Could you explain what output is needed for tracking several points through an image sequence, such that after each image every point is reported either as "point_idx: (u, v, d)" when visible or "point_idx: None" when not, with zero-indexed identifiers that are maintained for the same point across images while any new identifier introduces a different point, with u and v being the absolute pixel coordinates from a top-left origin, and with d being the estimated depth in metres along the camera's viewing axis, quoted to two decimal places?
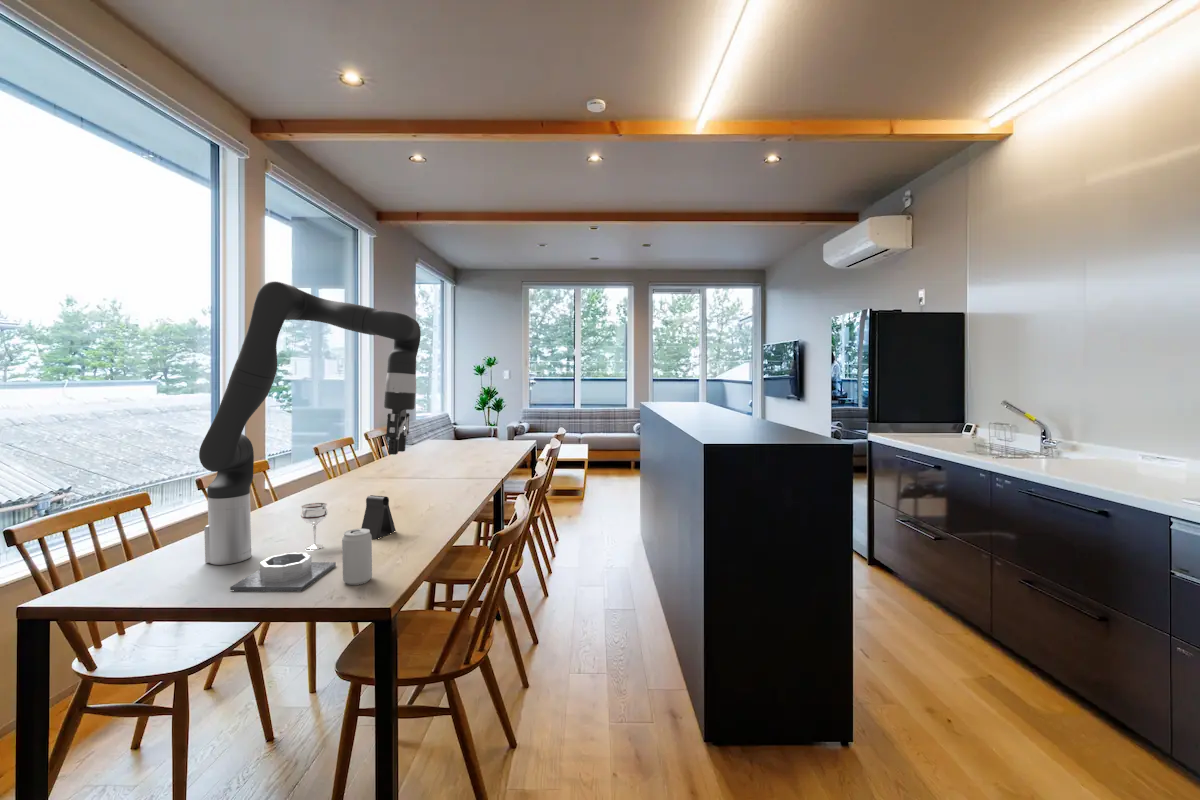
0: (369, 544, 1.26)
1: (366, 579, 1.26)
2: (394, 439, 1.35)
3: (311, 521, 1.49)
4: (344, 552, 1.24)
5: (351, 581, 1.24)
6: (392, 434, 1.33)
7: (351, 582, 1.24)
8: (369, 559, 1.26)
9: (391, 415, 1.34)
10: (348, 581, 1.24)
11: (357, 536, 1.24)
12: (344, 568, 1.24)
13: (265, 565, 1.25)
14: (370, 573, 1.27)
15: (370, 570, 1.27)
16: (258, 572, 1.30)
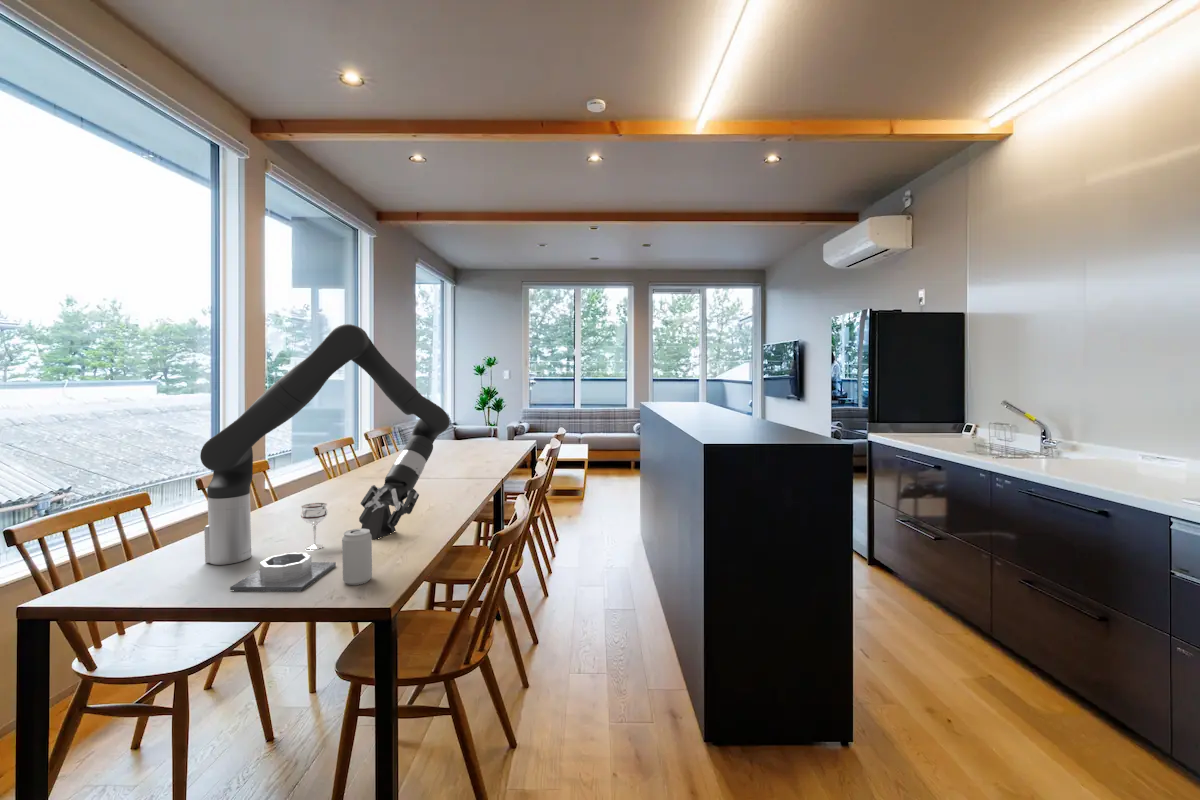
0: (369, 544, 1.26)
1: (366, 579, 1.26)
2: (402, 514, 1.33)
3: (311, 521, 1.49)
4: (344, 552, 1.24)
5: (351, 581, 1.24)
6: (409, 509, 1.34)
7: (351, 582, 1.24)
8: (369, 559, 1.26)
9: (416, 492, 1.36)
10: (348, 581, 1.24)
11: (357, 536, 1.24)
12: (344, 568, 1.24)
13: (265, 565, 1.25)
14: (370, 573, 1.27)
15: (370, 570, 1.27)
16: (258, 572, 1.30)
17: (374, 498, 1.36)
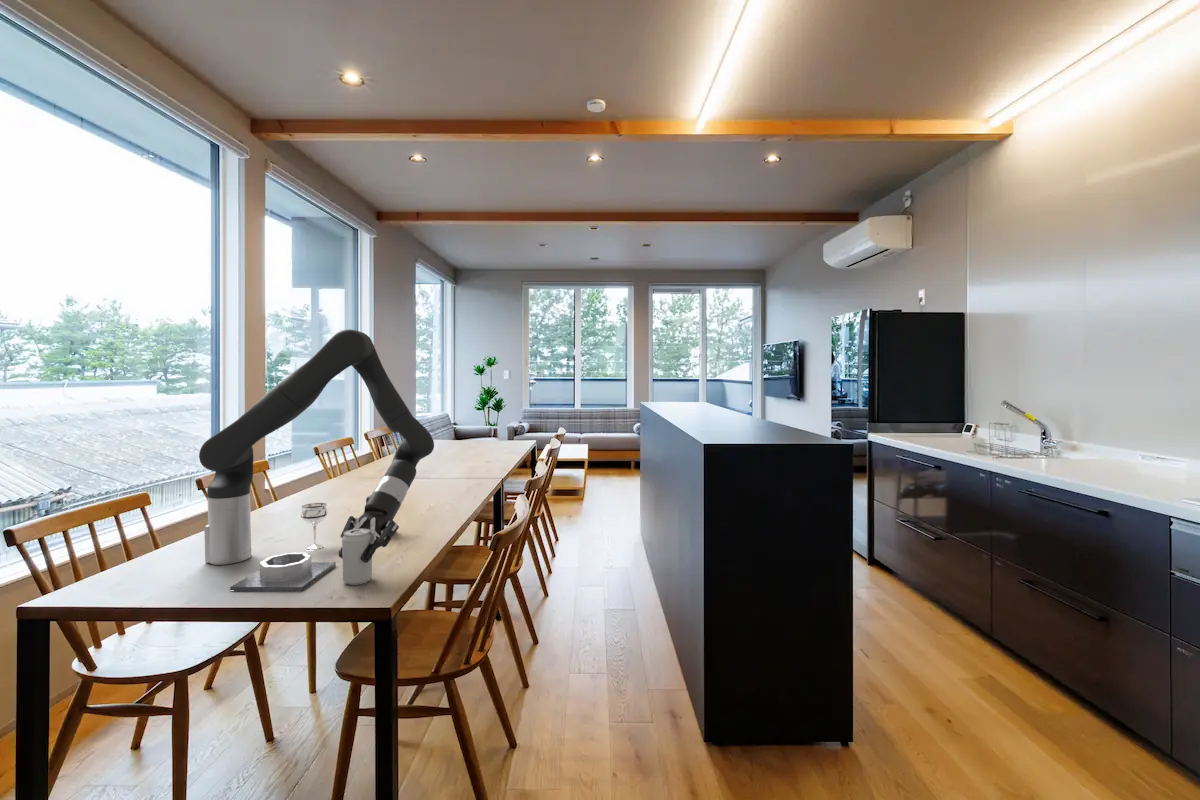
0: None
1: (366, 579, 1.26)
2: (376, 547, 1.26)
3: (311, 521, 1.49)
4: (344, 552, 1.24)
5: (351, 581, 1.24)
6: (384, 542, 1.27)
7: (351, 582, 1.24)
8: None
9: (395, 524, 1.29)
10: (348, 581, 1.24)
11: (357, 536, 1.24)
12: (344, 568, 1.24)
13: (265, 565, 1.25)
14: (370, 573, 1.27)
15: (370, 570, 1.27)
16: (258, 572, 1.30)
17: None
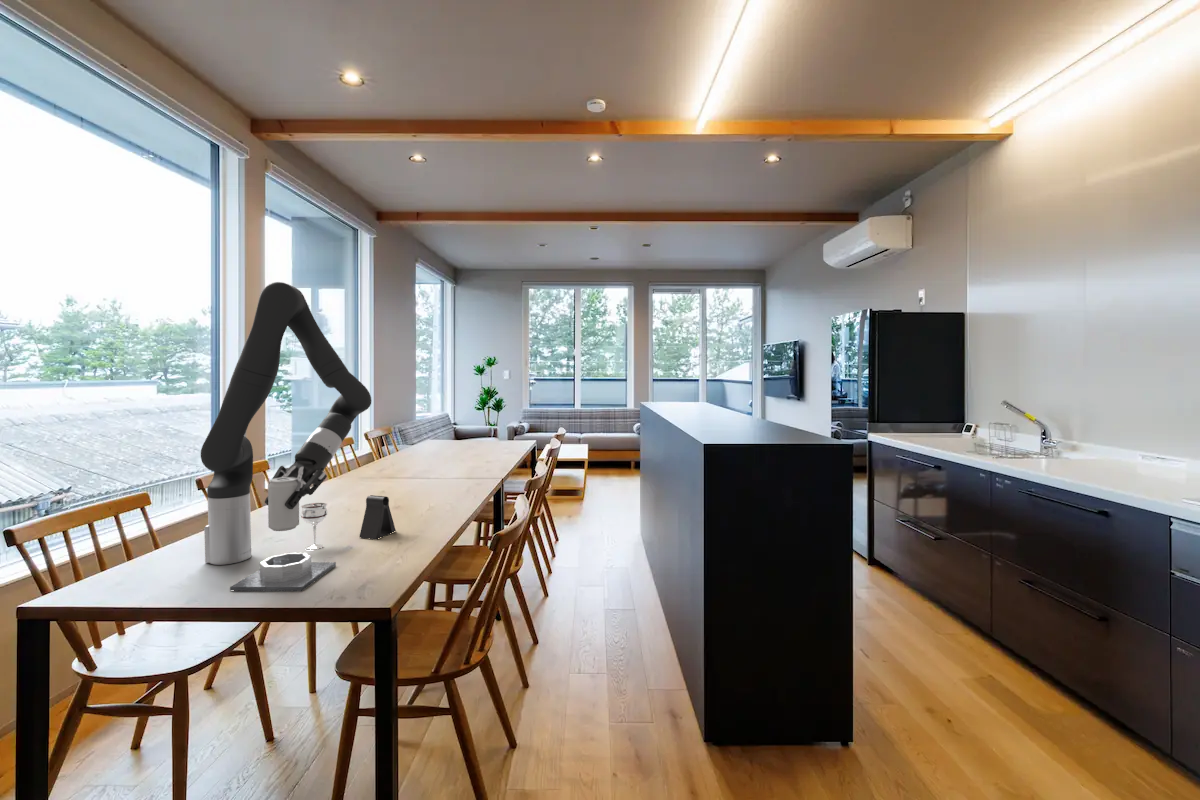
0: (295, 491, 1.27)
1: (291, 526, 1.27)
2: (302, 495, 1.28)
3: (311, 521, 1.49)
4: (269, 498, 1.25)
5: (276, 527, 1.25)
6: (310, 490, 1.28)
7: (276, 528, 1.25)
8: (295, 506, 1.28)
9: (322, 473, 1.30)
10: (273, 527, 1.25)
11: (282, 482, 1.25)
12: (269, 514, 1.26)
13: (265, 565, 1.25)
14: (296, 520, 1.28)
15: (296, 517, 1.28)
16: (258, 572, 1.30)
17: None
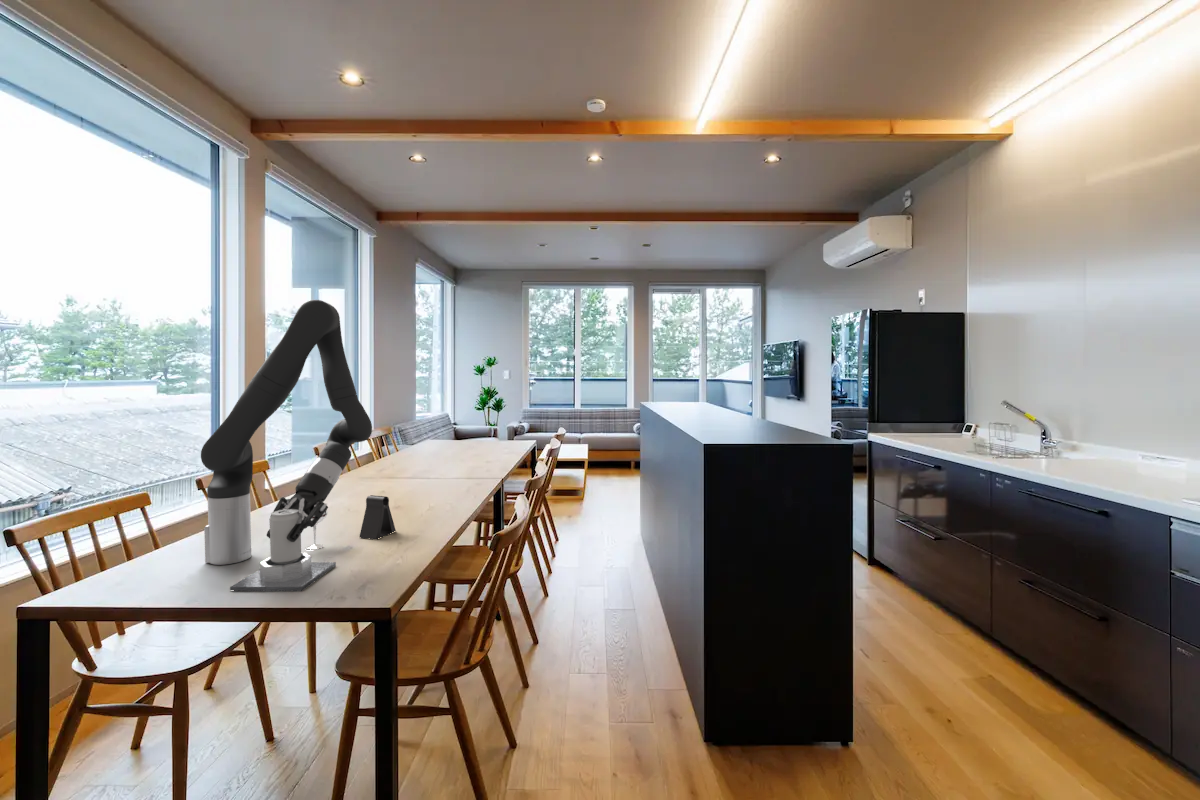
0: None
1: (294, 558, 1.27)
2: (303, 527, 1.28)
3: None
4: (271, 531, 1.26)
5: (278, 560, 1.26)
6: (311, 522, 1.28)
7: (278, 561, 1.26)
8: (297, 539, 1.28)
9: (323, 505, 1.31)
10: (275, 560, 1.26)
11: (283, 516, 1.26)
12: (271, 547, 1.26)
13: (265, 565, 1.25)
14: (298, 552, 1.29)
15: (298, 549, 1.29)
16: (258, 572, 1.30)
17: None
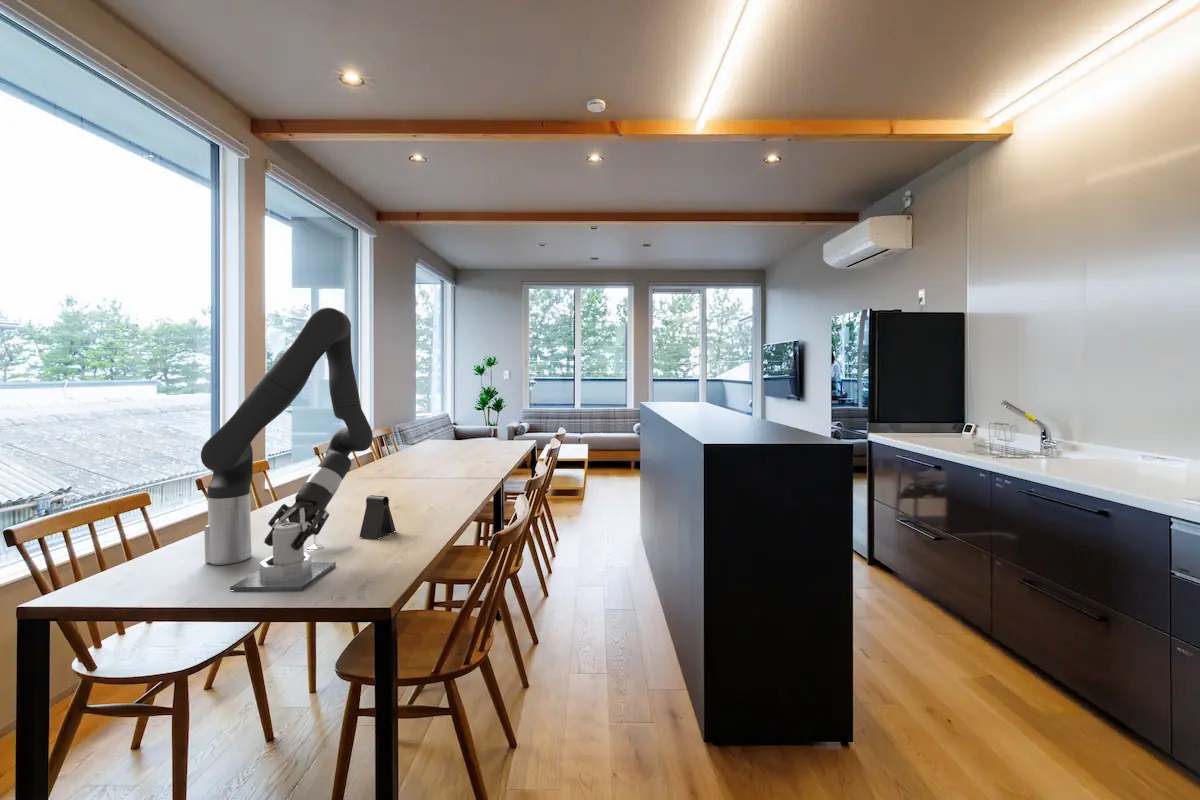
0: None
1: None
2: (308, 535, 1.28)
3: None
4: (273, 545, 1.26)
5: None
6: (316, 530, 1.28)
7: None
8: (299, 552, 1.28)
9: (325, 512, 1.31)
10: None
11: (285, 529, 1.26)
12: (274, 561, 1.26)
13: (265, 565, 1.25)
14: None
15: None
16: (258, 572, 1.30)
17: (282, 518, 1.31)
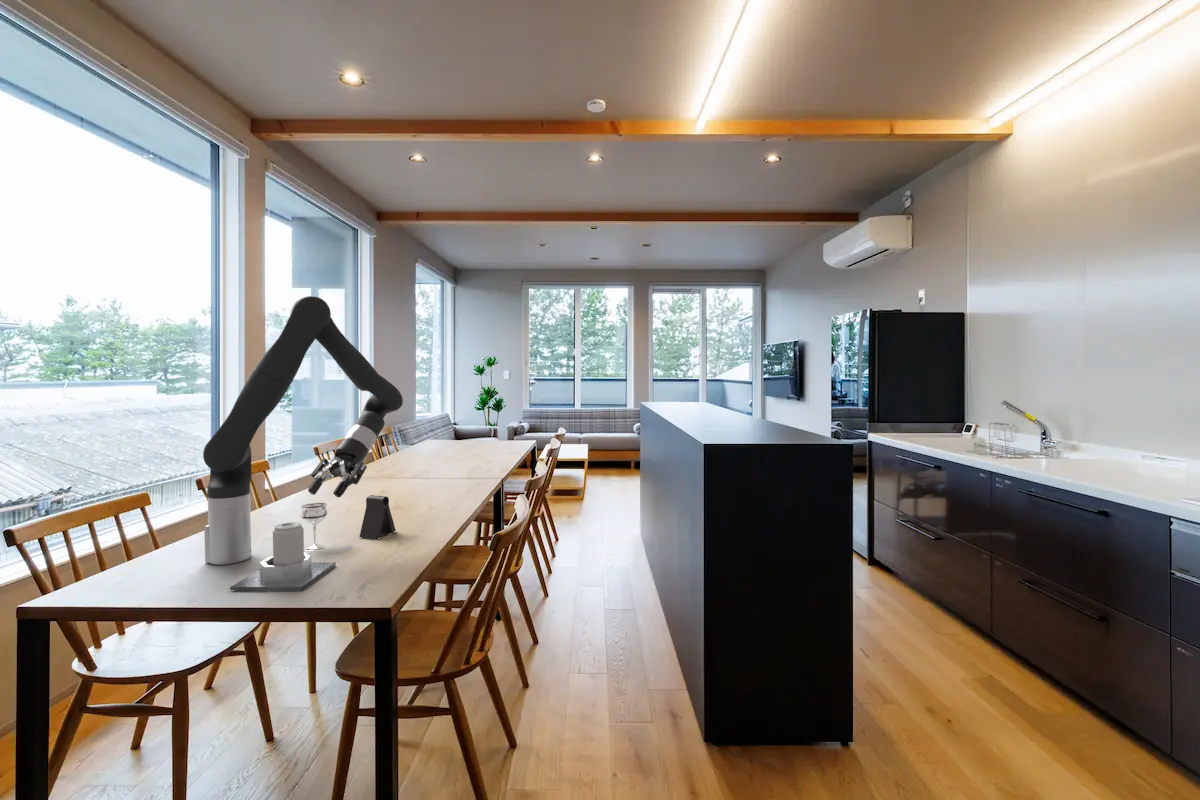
0: (299, 538, 1.27)
1: None
2: (349, 484, 1.40)
3: (311, 521, 1.49)
4: (273, 545, 1.26)
5: None
6: (356, 480, 1.40)
7: None
8: (299, 553, 1.27)
9: (363, 464, 1.43)
10: None
11: (285, 529, 1.25)
12: (274, 561, 1.26)
13: (265, 565, 1.25)
14: None
15: None
16: (258, 572, 1.30)
17: (323, 469, 1.43)
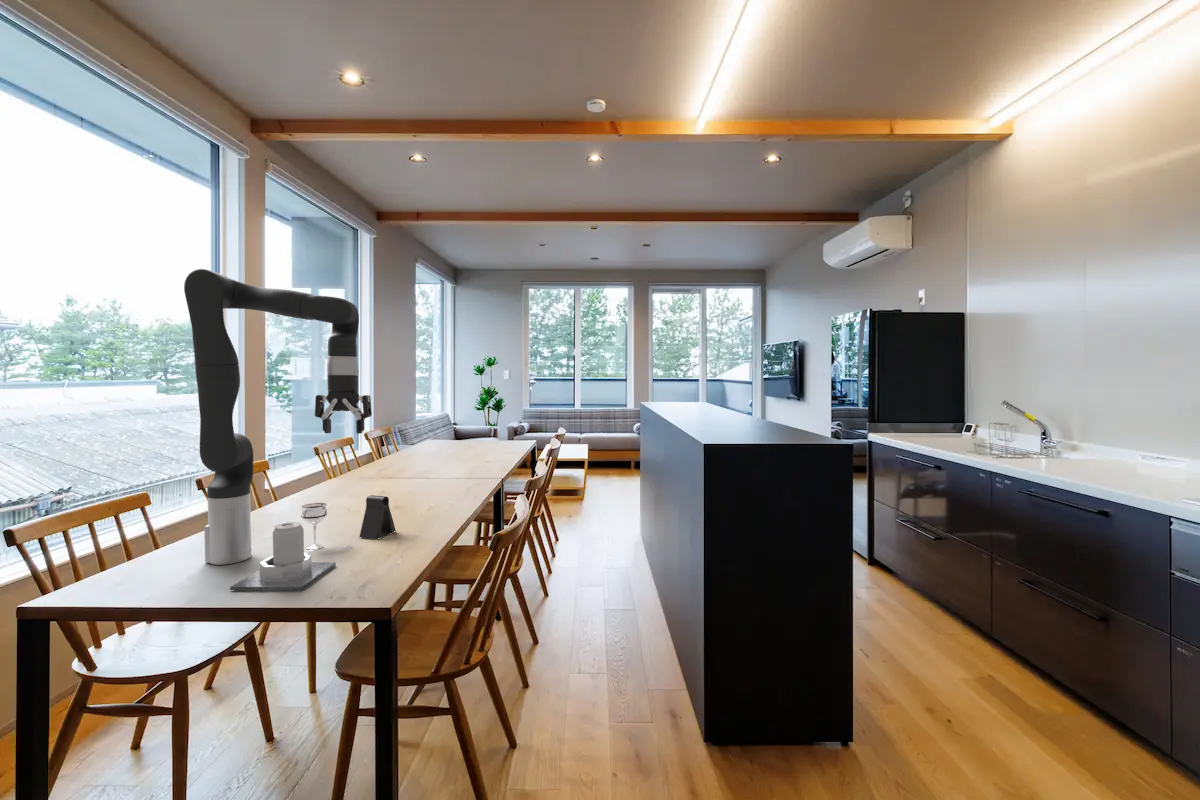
0: (299, 538, 1.27)
1: None
2: (364, 419, 1.46)
3: (311, 521, 1.49)
4: (273, 545, 1.26)
5: None
6: (369, 414, 1.46)
7: None
8: (299, 553, 1.27)
9: (367, 397, 1.45)
10: None
11: (285, 529, 1.25)
12: (274, 561, 1.26)
13: (265, 565, 1.25)
14: None
15: None
16: (258, 572, 1.30)
17: (328, 410, 1.43)
